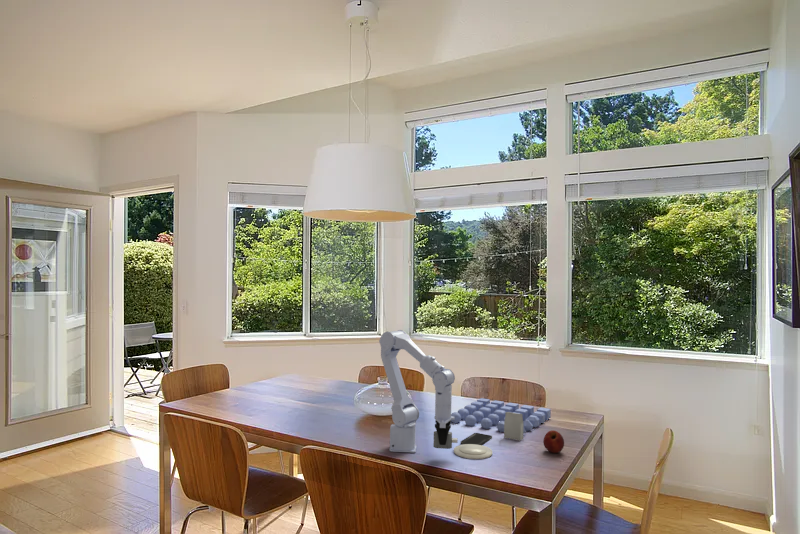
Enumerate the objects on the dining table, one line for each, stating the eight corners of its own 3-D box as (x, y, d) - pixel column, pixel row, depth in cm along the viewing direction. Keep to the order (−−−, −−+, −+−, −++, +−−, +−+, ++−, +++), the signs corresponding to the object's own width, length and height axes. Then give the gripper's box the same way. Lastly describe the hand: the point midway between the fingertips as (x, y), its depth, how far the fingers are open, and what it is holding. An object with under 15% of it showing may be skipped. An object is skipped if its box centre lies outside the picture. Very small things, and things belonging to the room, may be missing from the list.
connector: (433, 448, 181) (433, 433, 181) (433, 444, 184) (433, 430, 184) (457, 449, 180) (457, 434, 180) (457, 446, 183) (457, 431, 184)
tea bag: (520, 440, 204) (521, 415, 204) (504, 437, 207) (504, 412, 207) (523, 438, 207) (523, 413, 207) (506, 435, 210) (507, 410, 211)
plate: (453, 458, 183) (453, 454, 183) (453, 445, 197) (453, 442, 197) (493, 460, 181) (493, 456, 181) (490, 447, 195) (490, 444, 195)
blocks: (550, 419, 237) (550, 408, 237) (524, 438, 208) (524, 426, 208) (480, 407, 256) (481, 398, 257) (447, 423, 228) (448, 412, 228)
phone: (459, 442, 198) (475, 432, 211) (459, 445, 198) (475, 435, 211) (478, 445, 194) (493, 435, 207) (478, 448, 194) (493, 438, 207)
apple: (540, 452, 190) (540, 431, 190) (547, 447, 196) (547, 426, 196) (560, 457, 186) (560, 434, 186) (566, 451, 192) (566, 429, 192)
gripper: (454, 409, 175) (454, 450, 175) (454, 399, 189) (453, 436, 189) (433, 409, 176) (433, 449, 175) (435, 399, 190) (434, 436, 190)
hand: (442, 442), depth 182 cm, fingers closed on connector, 3 cm apart
